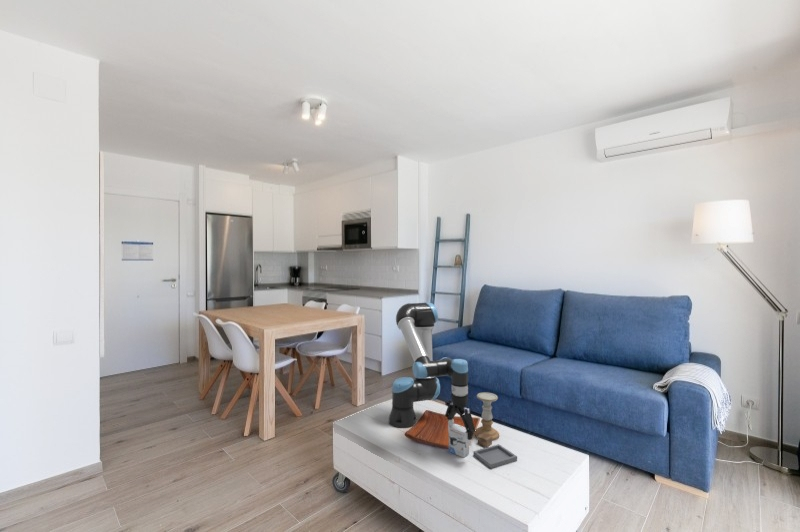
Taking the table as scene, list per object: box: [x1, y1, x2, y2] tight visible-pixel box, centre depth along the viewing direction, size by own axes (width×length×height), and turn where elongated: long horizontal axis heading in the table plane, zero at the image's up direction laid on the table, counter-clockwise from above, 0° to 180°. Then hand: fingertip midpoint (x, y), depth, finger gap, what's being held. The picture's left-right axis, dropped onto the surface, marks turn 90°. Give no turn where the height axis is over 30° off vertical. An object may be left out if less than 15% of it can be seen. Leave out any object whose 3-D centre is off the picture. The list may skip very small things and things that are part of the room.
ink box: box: [448, 423, 470, 458], centre depth 172 cm, size 8×5×12 cm, turn 47°
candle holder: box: [474, 392, 500, 441], centre depth 190 cm, size 12×12×20 cm
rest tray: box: [472, 443, 518, 470], centre depth 168 cm, size 12×15×2 cm
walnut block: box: [477, 433, 493, 448], centre depth 180 cm, size 5×5×4 cm
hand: (459, 439), depth 172 cm, fingers open, 13 cm apart
